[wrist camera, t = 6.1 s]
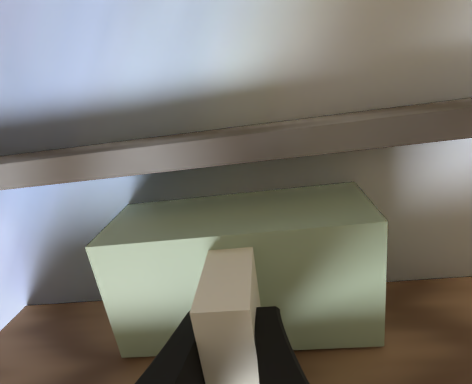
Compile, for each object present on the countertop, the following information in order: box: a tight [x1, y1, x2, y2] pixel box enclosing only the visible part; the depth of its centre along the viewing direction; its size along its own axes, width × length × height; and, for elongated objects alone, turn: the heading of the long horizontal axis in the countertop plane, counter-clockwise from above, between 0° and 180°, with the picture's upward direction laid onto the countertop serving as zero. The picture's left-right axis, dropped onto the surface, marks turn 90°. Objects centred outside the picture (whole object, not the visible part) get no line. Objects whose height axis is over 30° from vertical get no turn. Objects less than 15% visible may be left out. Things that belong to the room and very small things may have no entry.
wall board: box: [0, 98, 472, 384], centre depth 12 cm, size 24×10×6 cm, turn 98°
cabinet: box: [85, 182, 388, 384], centre depth 12 cm, size 10×5×7 cm, turn 98°
